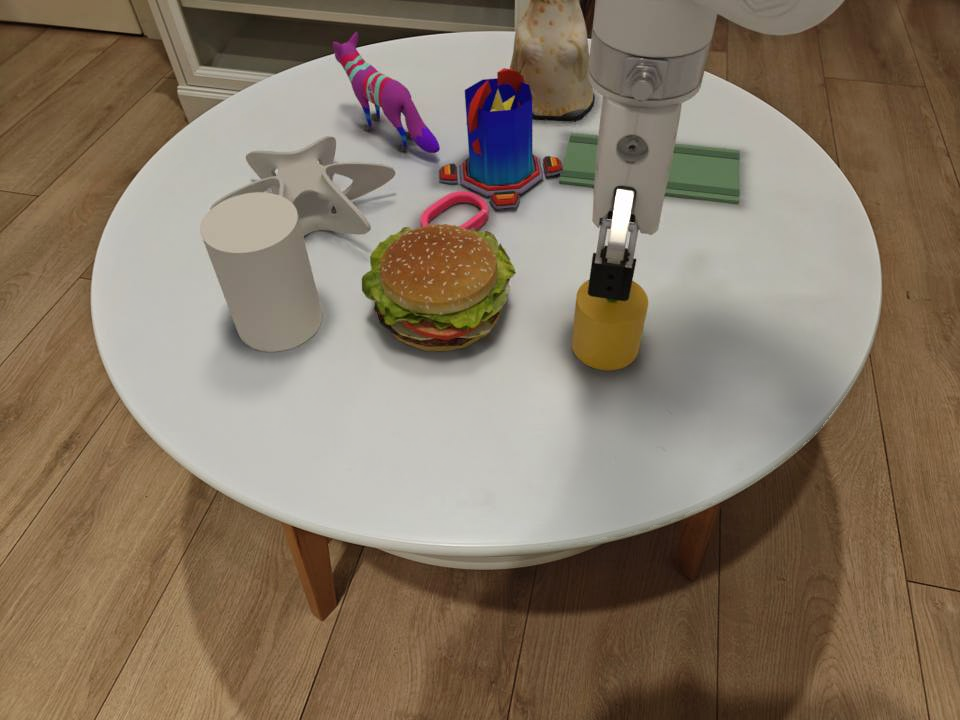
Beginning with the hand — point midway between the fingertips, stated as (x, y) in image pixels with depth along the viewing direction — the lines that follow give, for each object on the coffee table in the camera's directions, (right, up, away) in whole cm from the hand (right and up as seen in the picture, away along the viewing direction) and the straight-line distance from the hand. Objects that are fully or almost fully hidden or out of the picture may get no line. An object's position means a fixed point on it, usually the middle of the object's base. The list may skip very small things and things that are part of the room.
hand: (614, 255), depth 63 cm
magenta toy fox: (-22, +19, +32) cm, 43 cm away
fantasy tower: (-9, +13, +26) cm, 30 cm away
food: (-15, -3, +12) cm, 19 cm away
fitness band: (-14, +6, +21) cm, 26 cm away
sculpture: (-30, +7, +22) cm, 38 cm away
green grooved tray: (+9, +14, +26) cm, 31 cm away
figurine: (-2, +25, +37) cm, 45 cm away
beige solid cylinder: (-30, -5, +11) cm, 33 cm away
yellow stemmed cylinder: (0, -7, +8) cm, 11 cm away
